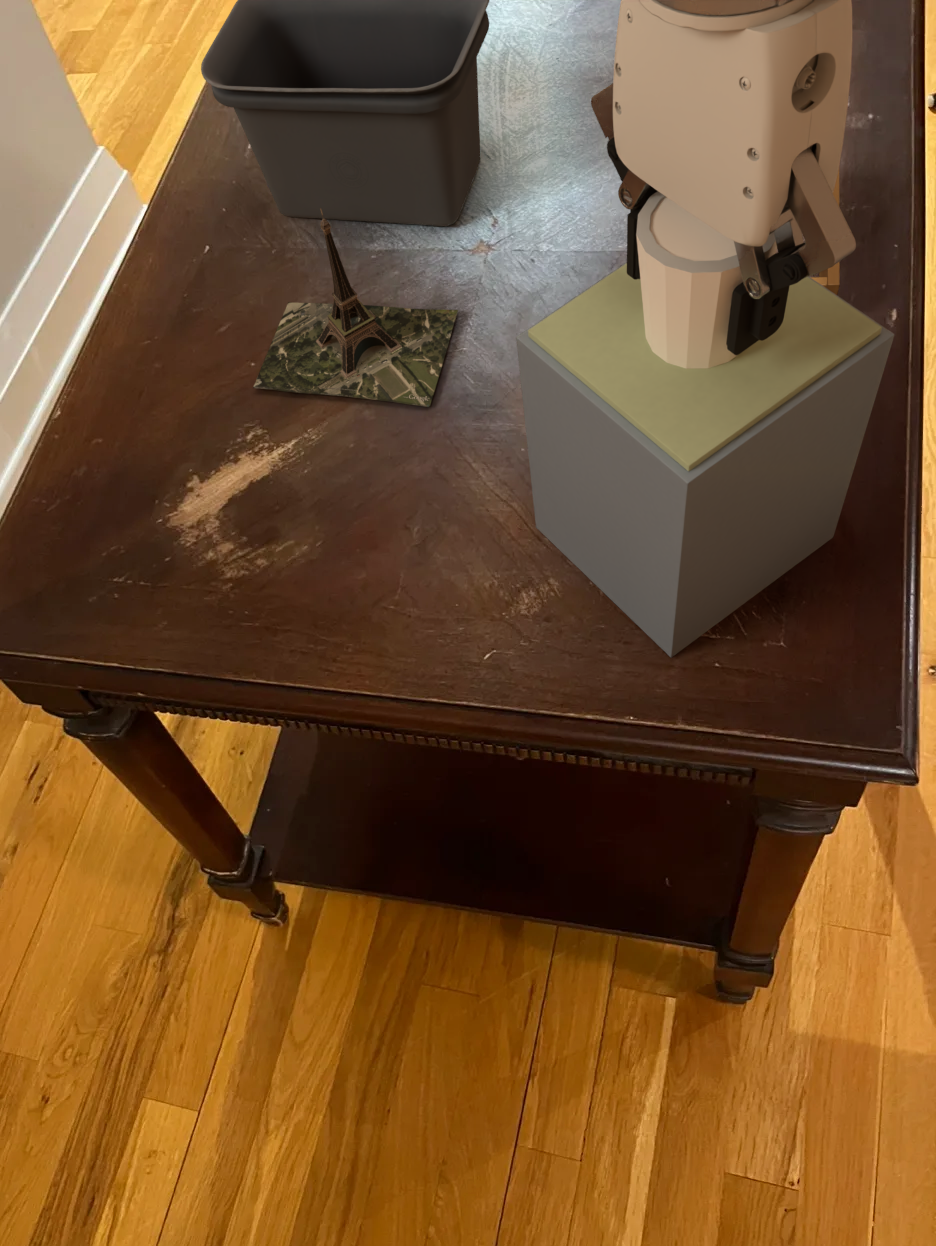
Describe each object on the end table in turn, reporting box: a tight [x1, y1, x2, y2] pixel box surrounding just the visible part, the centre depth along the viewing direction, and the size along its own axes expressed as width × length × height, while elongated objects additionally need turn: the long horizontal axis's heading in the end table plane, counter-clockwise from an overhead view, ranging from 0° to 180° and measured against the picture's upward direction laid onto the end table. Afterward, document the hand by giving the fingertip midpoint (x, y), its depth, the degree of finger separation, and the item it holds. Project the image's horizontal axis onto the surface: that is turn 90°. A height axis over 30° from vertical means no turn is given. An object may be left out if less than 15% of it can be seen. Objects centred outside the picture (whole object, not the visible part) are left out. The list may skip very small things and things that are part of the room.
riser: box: [515, 261, 895, 658], centre depth 67 cm, size 14×14×18 cm
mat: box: [528, 262, 882, 471], centre depth 59 cm, size 13×13×1 cm
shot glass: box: [636, 191, 778, 369], centre depth 55 cm, size 7×7×7 cm
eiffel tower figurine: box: [252, 208, 459, 408], centre depth 82 cm, size 15×10×13 cm
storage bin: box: [200, 0, 490, 227], centre depth 90 cm, size 21×16×14 cm
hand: (702, 297), depth 56 cm, fingers closed on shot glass, 6 cm apart
